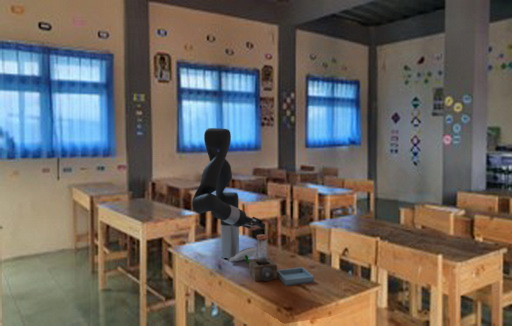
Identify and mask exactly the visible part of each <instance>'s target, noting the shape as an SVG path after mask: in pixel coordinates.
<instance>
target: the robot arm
mask: <svg viewBox="0 0 512 326" xmlns="http://www.w3.org/2000/svg"><path fill="white" fill-rule="evenodd" d="M203 138H204V146H205V149H206V152H207V156H208V158H209V162H208V164H207V165H206V166H204V169H203V171H202V173H201V174H202V175H201V179H200V183H199V186H198V187H197V189H196V191H195V194H194V195H193V197H192V200H191V201H192V202H191V206H192V209H193V211H194V212H195V213H197V214H203V213H204V214H205V213H208V212H210V213H211V215H212V216H213V217H214V218H216V219H218V220H220V222H219V223H220V246H221V247H220V249H221V252H220V253H221V258H222V257H224V258H229V257H232V256H235V254H237V253H238V252H240V227H243V228H246V229H251V228H252V227H258V228H260V229H263V230H264V229H266V223H264V221H263V219H260V218H258V217H256V216H252V217H250V216H248V215H246V212H245V211H244V210H243V209H241V208H239V201H240V200H239V194H238V192H224V191H225V190H226V188H227V187H228V185H229V184H230V182H231V181H232V178H233V173H232V166H231V164H230V162H229V161H228V160H227V159H226V158H227V155H228V151H229V149H230V145H231V143H232V142H231V141H232V136H231V131H230V130H229V129H228V128H218V127H217V128H216V127H209V128H207V129H205V131H204V136H203ZM214 192H215V194H214ZM224 258H223V259H224Z"/></svg>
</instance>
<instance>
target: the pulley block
mask: <svg viewBox="0 0 512 326" xmlns="http://www.w3.org/2000/svg"><path fill="white" fill-rule="evenodd" d="M277 270H278V265H277V263H275V262H274V260H272V258H270V257H269V258H268V257H267V264H266V265H258V259H252V260H251V259H249V264H248V271H249V272H248V274H249V273H250V274H249V275H250V276H252V277H251V278H252V279H253V281H254V280H255V281H254V282H259V281H260V280H261V281H264V282H269V281H271V280H275V279H278V277H277ZM261 281H260V282H261Z"/></svg>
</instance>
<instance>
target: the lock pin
mask: <svg viewBox="0 0 512 326" xmlns="http://www.w3.org/2000/svg"><path fill="white" fill-rule="evenodd" d="M256 239H257V260H258V265H266V264H267V259H268V241H267V240H268V234H261V233H260V234H257V235H256Z"/></svg>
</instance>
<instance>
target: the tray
mask: <svg viewBox="0 0 512 326" xmlns="http://www.w3.org/2000/svg"><path fill="white" fill-rule="evenodd" d="M277 279H279V280H280V282H281V283H283V285H284V286H285V287H286V286H287V287H290V286H297V285H304V284H312V283H314V282H315V275H313V274H311V273H310V271H308V270H307V269H306V268H304V267H303V266H302V267H294V268H293V267H292V268H291V267H290V268H283V269H277Z"/></svg>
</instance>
